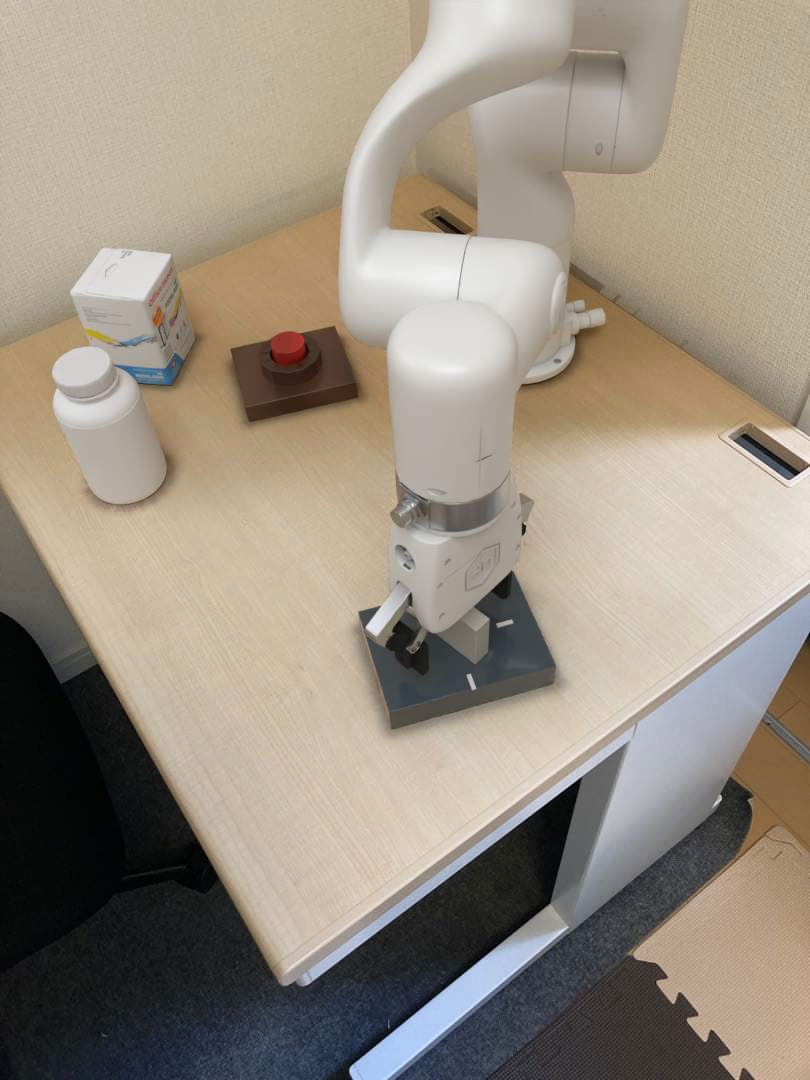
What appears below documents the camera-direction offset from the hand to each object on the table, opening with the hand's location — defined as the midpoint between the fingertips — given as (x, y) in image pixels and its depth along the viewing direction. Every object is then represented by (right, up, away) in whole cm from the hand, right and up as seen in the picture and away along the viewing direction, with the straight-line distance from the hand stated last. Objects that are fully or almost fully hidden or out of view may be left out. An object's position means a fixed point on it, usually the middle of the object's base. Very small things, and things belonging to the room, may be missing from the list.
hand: (453, 624), depth 73 cm
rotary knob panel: (0, -3, +4) cm, 5 cm away
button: (-16, +27, +25) cm, 40 cm away
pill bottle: (-32, +13, +19) cm, 40 cm away
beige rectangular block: (0, -1, +2) cm, 2 cm away
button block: (-16, +24, +27) cm, 40 cm away
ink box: (-33, +27, +31) cm, 53 cm away
